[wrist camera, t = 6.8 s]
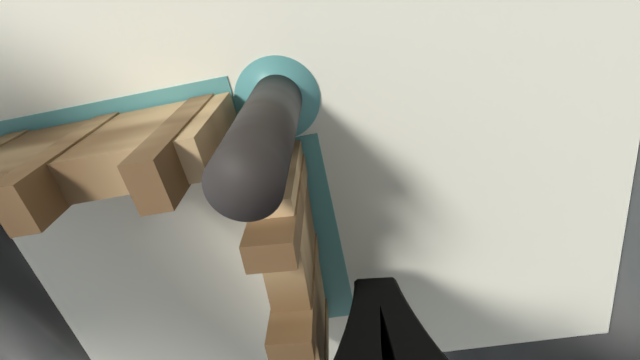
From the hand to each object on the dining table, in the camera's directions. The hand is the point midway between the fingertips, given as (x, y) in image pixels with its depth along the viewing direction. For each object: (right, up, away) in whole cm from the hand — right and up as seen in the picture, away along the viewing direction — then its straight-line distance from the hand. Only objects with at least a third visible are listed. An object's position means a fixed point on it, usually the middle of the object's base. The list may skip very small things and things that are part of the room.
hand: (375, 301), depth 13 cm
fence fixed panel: (-7, +6, -1) cm, 9 cm away
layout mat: (-3, +5, -1) cm, 5 cm away
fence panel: (-2, +2, 0) cm, 3 cm away
